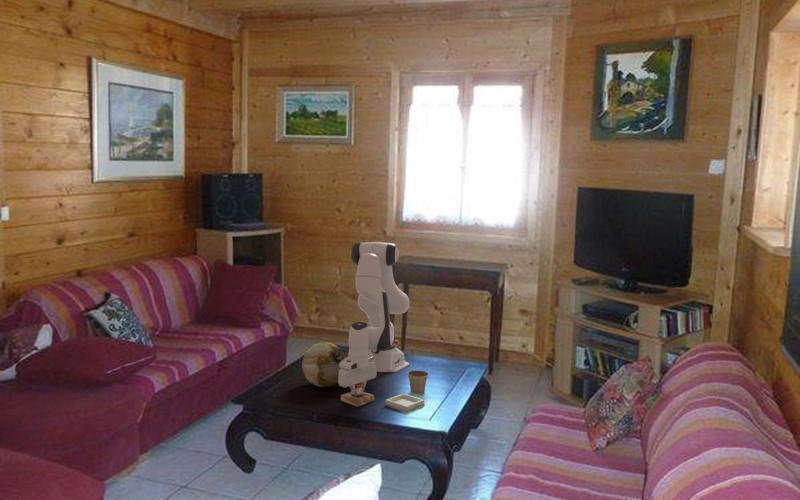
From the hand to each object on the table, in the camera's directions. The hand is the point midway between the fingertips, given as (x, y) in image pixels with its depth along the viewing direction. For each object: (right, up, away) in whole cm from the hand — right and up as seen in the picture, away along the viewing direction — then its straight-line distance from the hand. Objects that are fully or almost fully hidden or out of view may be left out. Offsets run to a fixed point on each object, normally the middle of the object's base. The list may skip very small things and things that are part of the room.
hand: (357, 392), depth 288 cm
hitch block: (0, -4, 0) cm, 4 cm away
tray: (+20, -5, -4) cm, 21 cm away
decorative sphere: (-16, -1, +18) cm, 24 cm away
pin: (0, -4, 0) cm, 4 cm away
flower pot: (+26, -3, +14) cm, 29 cm away
